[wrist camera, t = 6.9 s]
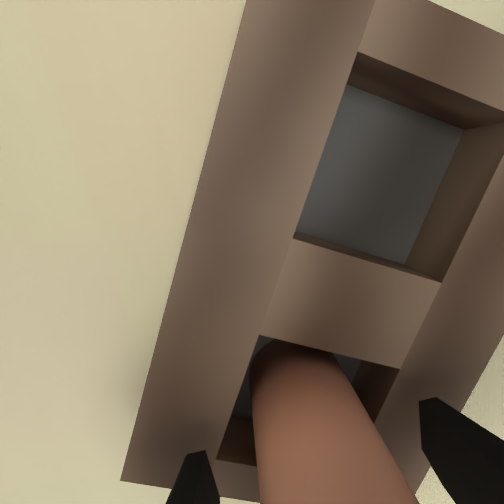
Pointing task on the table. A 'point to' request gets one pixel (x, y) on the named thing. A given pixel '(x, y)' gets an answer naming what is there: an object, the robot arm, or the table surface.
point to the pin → (316, 433)
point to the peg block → (336, 229)
